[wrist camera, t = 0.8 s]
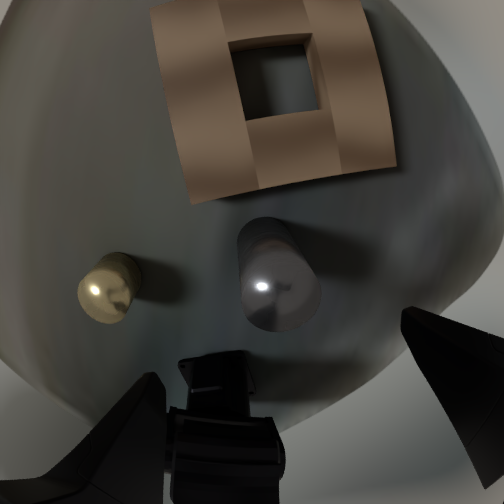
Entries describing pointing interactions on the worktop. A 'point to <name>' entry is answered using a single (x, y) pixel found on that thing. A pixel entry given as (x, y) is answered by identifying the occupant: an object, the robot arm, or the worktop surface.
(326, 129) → the hole plate
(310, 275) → the tall pin
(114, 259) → the short pin
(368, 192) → the worktop surface
